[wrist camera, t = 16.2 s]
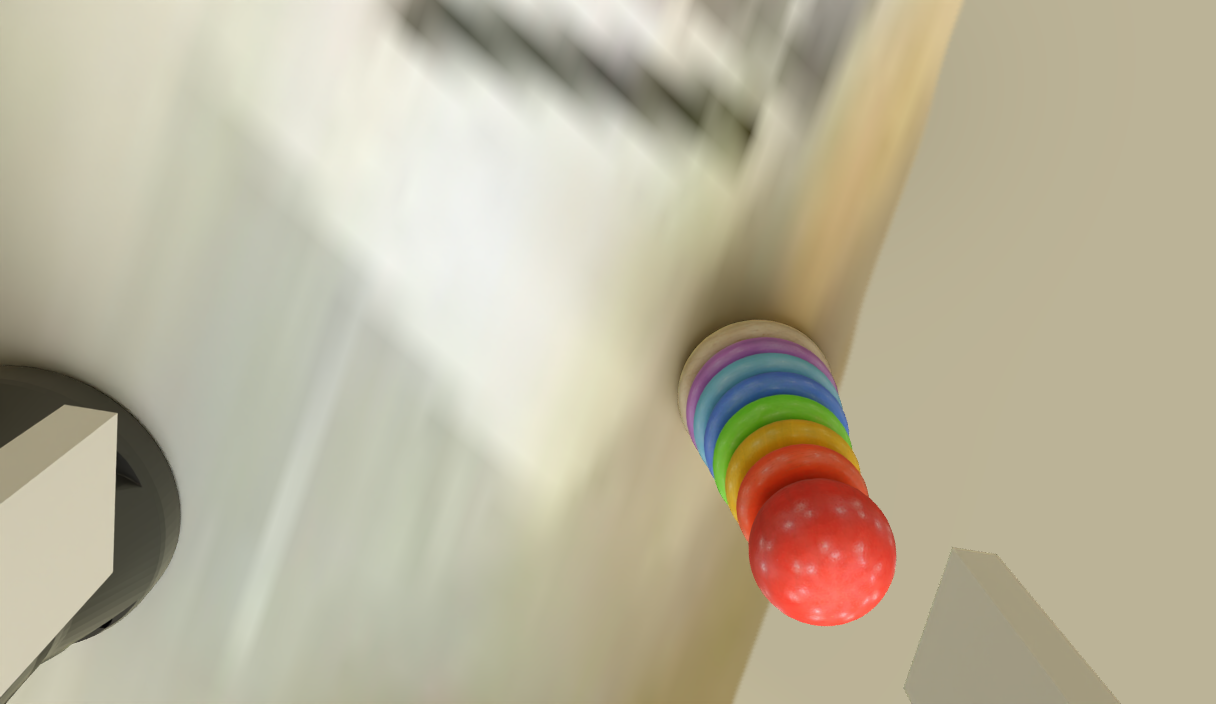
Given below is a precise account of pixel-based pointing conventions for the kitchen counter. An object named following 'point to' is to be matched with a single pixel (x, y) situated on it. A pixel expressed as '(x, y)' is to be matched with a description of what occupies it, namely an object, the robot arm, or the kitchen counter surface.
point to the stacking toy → (788, 470)
